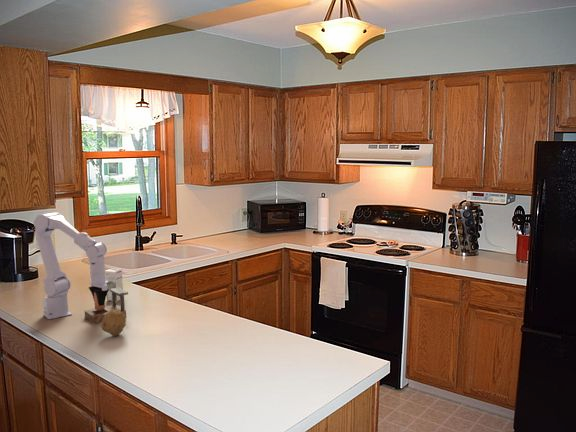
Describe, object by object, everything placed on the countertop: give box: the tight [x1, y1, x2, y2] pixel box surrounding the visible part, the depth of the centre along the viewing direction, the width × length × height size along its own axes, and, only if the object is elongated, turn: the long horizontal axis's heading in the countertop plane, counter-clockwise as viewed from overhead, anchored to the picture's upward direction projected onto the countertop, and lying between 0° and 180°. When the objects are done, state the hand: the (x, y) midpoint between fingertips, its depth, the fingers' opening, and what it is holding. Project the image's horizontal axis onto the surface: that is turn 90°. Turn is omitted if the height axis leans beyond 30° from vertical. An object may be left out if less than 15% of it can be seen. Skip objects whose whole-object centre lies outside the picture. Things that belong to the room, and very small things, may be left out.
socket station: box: [84, 287, 129, 325], centre depth 220 cm, size 15×11×10 cm
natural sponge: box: [100, 310, 127, 337], centre depth 198 cm, size 9×9×10 cm
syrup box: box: [105, 268, 124, 302], centre depth 245 cm, size 6×6×14 cm
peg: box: [93, 292, 106, 310], centre depth 218 cm, size 4×4×7 cm
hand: (99, 304), depth 218 cm, fingers closed on peg, 4 cm apart
